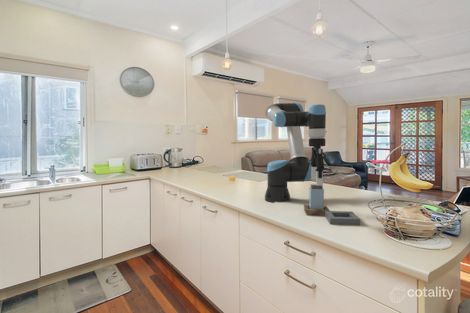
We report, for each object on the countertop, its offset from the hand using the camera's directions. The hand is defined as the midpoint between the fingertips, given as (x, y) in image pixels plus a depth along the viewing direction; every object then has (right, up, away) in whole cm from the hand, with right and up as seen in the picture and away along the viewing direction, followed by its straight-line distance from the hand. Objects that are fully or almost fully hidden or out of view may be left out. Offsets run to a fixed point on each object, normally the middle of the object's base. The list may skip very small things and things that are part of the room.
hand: (316, 182), depth 117 cm
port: (+8, -16, -9) cm, 20 cm away
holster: (0, -15, +2) cm, 16 cm away
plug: (0, -15, +2) cm, 15 cm away
